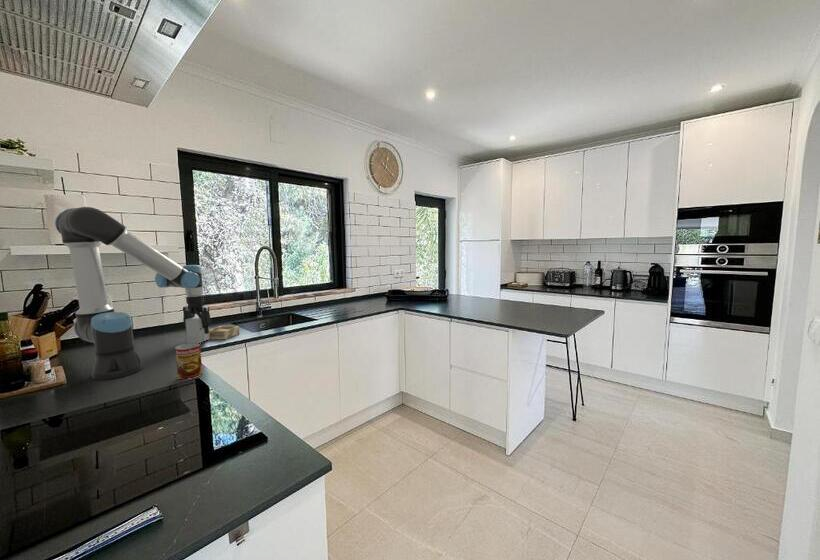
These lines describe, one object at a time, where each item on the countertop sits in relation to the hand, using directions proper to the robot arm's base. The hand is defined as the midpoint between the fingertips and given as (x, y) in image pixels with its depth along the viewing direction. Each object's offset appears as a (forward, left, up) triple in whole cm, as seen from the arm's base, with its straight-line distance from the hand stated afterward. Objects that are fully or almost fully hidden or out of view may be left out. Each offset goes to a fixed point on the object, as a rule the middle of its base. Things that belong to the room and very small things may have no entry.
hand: (199, 339), depth 175 cm
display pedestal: (+10, -6, -1) cm, 12 cm away
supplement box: (0, 0, -1) cm, 1 cm away
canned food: (-39, -33, -1) cm, 52 cm away
